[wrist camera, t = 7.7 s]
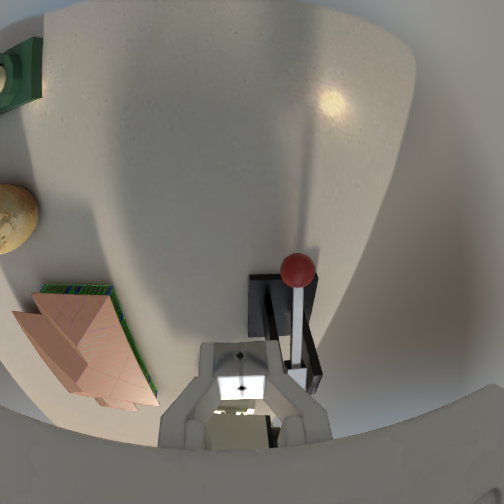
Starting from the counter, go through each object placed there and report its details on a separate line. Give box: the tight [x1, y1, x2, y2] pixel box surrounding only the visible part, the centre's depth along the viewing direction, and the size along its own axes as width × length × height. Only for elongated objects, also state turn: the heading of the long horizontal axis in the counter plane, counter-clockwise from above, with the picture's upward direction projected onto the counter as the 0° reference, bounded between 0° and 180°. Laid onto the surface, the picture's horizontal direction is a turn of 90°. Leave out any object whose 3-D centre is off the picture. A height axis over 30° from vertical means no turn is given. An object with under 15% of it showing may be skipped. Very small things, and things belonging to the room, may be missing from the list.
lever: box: [280, 253, 315, 389], centre depth 29 cm, size 15×4×4 cm, turn 178°
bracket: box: [248, 273, 323, 395], centre depth 34 cm, size 11×9×14 cm
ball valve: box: [206, 399, 281, 450], centre depth 45 cm, size 18×8×18 cm, turn 77°
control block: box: [0, 37, 43, 114], centre depth 17 cm, size 10×8×4 cm
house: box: [12, 284, 160, 411], centre depth 40 cm, size 23×33×8 cm
